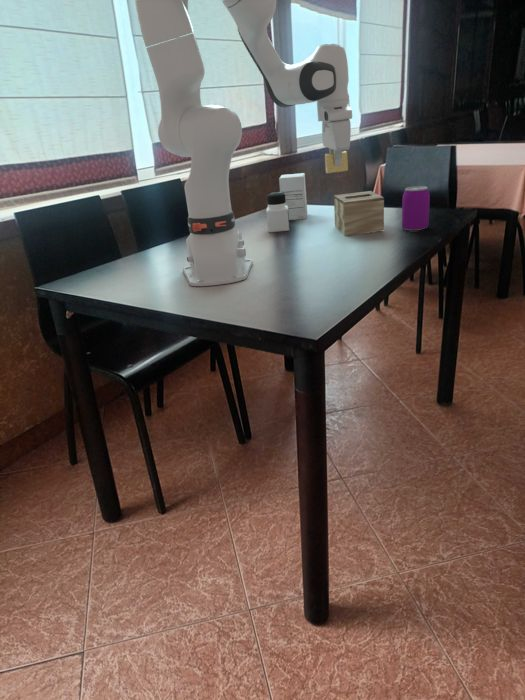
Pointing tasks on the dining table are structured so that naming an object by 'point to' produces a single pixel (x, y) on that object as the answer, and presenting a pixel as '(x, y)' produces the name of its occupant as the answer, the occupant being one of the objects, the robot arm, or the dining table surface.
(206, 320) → the dining table surface
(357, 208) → the coin box
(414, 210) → the beverage can
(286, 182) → the supplement box
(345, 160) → the yellow block
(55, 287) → the dining table surface
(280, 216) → the medicine bottle
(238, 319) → the dining table surface
